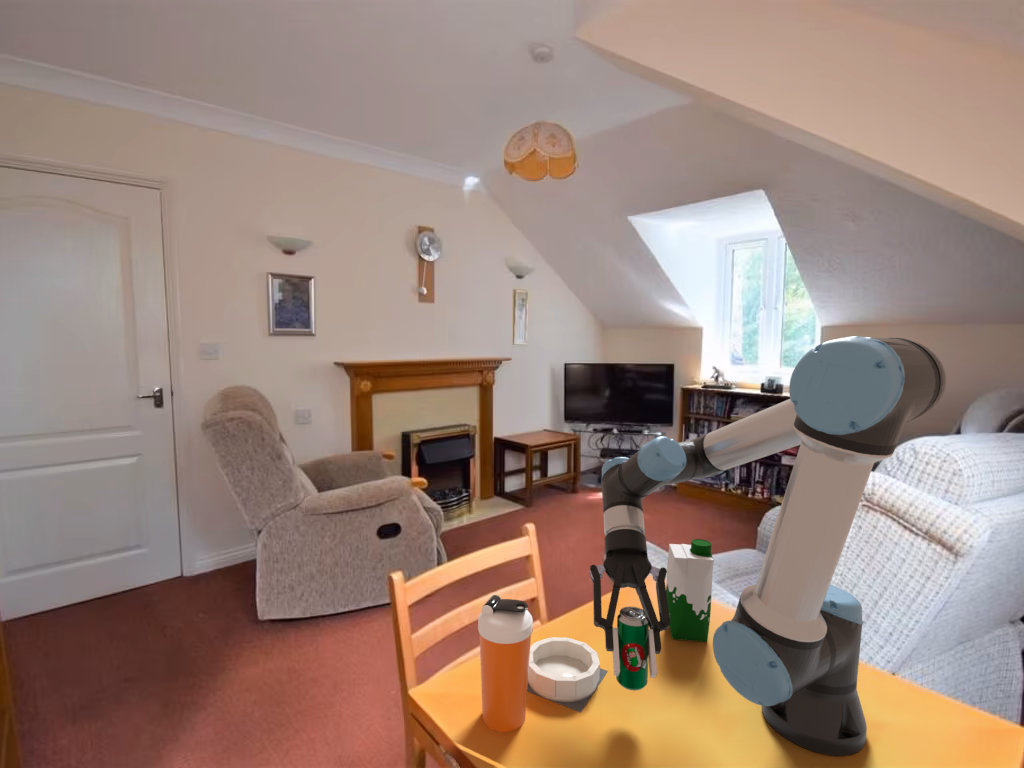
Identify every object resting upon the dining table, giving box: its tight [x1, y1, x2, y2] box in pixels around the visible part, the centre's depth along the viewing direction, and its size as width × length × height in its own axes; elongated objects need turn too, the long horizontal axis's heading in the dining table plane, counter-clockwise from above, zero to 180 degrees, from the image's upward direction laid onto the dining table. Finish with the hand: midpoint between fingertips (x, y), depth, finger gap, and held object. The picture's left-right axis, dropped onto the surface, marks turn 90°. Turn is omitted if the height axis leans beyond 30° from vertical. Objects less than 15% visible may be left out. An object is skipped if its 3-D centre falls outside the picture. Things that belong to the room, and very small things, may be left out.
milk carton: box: [665, 538, 715, 643], centre depth 115 cm, size 9×9×20 cm
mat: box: [527, 667, 609, 713], centre depth 99 cm, size 13×13×1 cm
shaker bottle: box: [477, 594, 534, 733], centre depth 88 cm, size 9×9×20 cm
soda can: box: [615, 606, 650, 692], centre depth 89 cm, size 5×5×12 cm
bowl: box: [528, 636, 601, 702], centre depth 99 cm, size 13×13×4 cm
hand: (635, 674), depth 85 cm, fingers closed on soda can, 5 cm apart
